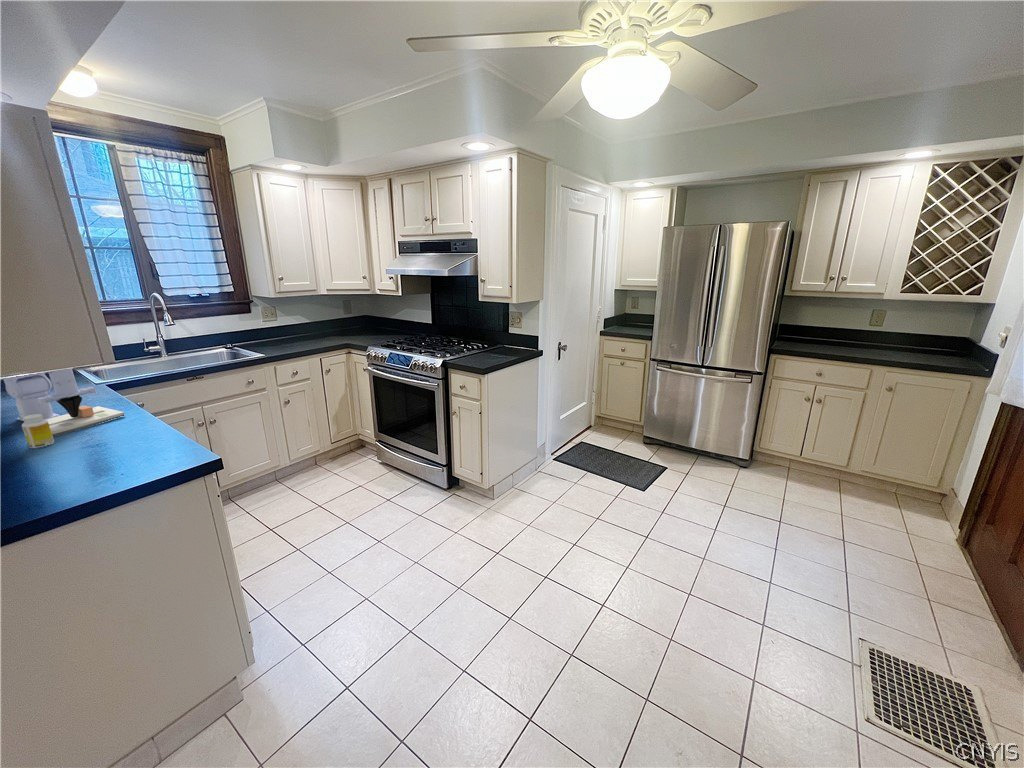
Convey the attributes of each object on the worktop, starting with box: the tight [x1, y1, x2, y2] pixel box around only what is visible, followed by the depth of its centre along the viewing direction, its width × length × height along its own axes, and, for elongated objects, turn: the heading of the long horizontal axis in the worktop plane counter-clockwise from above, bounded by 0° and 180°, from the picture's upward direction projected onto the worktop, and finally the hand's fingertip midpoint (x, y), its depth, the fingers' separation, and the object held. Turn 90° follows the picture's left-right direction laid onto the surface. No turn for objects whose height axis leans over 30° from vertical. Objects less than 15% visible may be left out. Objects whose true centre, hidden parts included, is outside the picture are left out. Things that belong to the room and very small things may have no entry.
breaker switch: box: [78, 405, 94, 417], centre depth 150 cm, size 5×3×4 cm, turn 70°
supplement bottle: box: [21, 414, 55, 449], centre depth 130 cm, size 6×6×10 cm
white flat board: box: [45, 405, 126, 437], centre depth 149 cm, size 16×20×2 cm
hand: (74, 416), depth 148 cm, fingers closed
